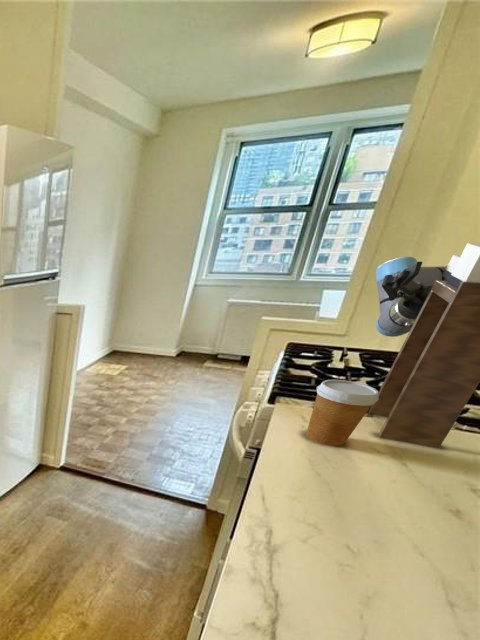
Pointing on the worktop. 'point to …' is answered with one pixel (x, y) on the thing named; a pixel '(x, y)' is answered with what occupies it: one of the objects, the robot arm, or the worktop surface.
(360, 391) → the disposable coffee cup
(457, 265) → the white block dark base
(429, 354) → the tall wooden cabinet
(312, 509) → the worktop surface
